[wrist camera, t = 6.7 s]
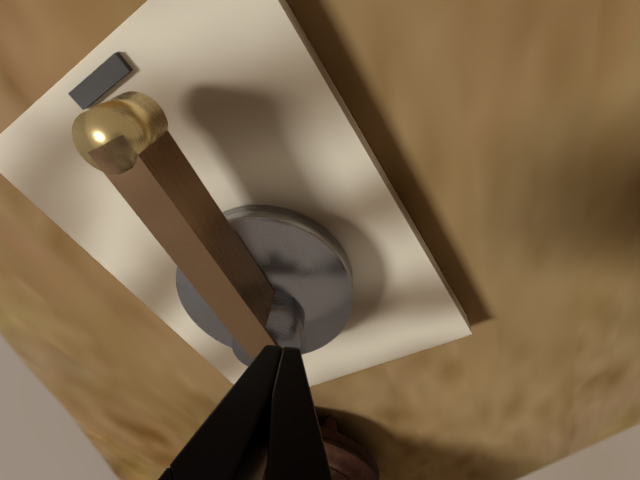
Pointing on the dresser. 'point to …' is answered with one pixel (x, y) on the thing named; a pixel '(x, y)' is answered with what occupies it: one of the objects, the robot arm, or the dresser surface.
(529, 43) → the dresser surface
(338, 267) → the cam lever
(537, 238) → the dresser surface
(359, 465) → the brown tall stacked figurine
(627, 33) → the dresser surface
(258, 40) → the ash stand
